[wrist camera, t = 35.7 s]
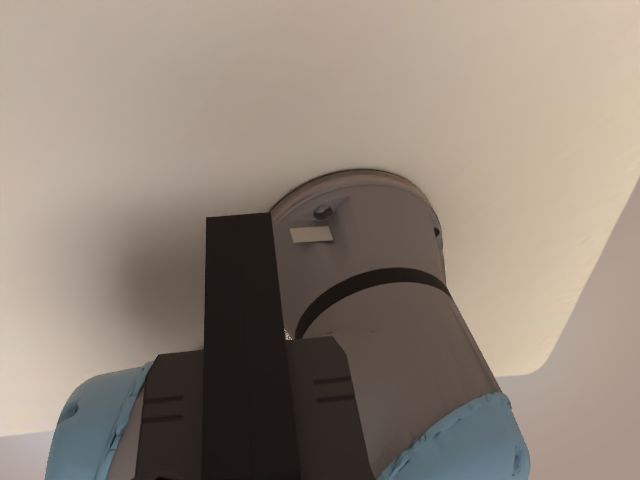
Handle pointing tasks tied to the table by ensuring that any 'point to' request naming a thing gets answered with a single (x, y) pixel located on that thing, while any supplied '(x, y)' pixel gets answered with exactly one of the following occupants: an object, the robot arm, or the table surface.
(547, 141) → the table surface
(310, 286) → the robot arm
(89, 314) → the table surface
